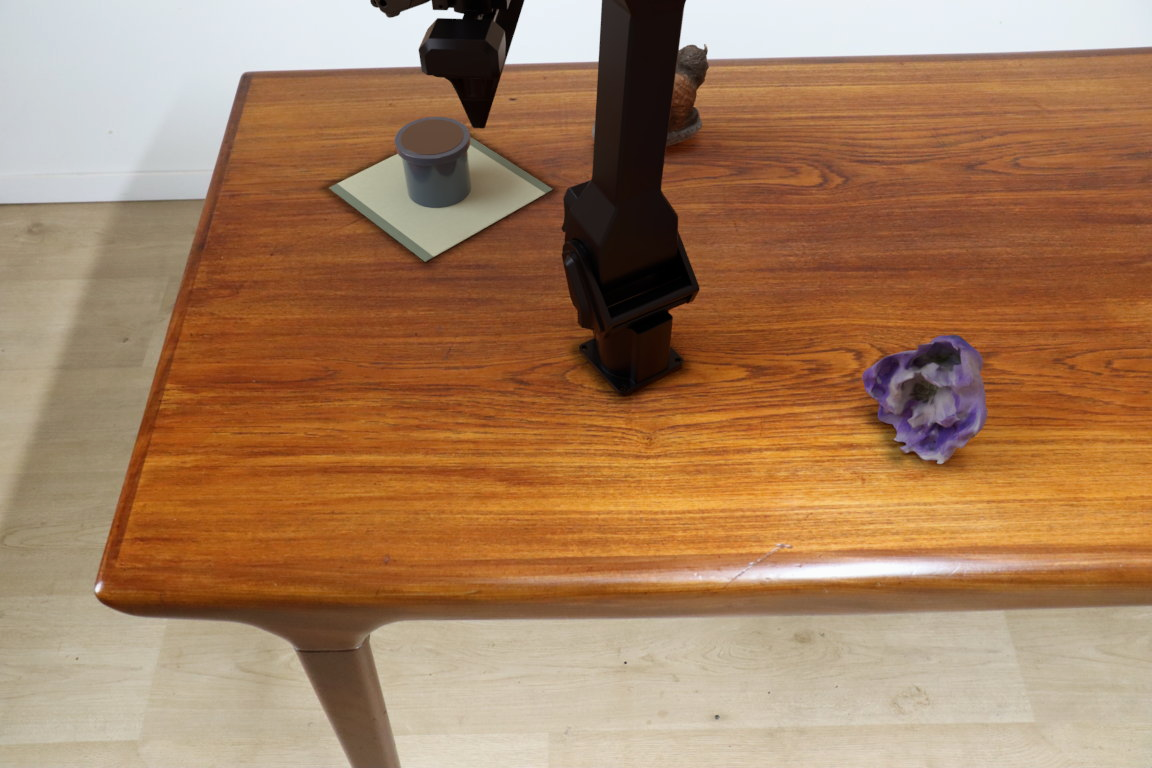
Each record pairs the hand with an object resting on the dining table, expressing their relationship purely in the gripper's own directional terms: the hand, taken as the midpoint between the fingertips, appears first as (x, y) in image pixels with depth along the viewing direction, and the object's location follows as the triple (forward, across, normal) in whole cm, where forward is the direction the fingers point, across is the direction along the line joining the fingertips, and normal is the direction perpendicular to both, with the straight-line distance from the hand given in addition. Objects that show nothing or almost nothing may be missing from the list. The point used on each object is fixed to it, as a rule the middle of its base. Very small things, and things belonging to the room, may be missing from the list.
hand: (487, 99), depth 85 cm
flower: (+12, +24, +37) cm, 46 cm away
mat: (+12, -2, -6) cm, 13 cm away
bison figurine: (+12, -12, +14) cm, 22 cm away
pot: (+11, -2, -6) cm, 13 cm away
